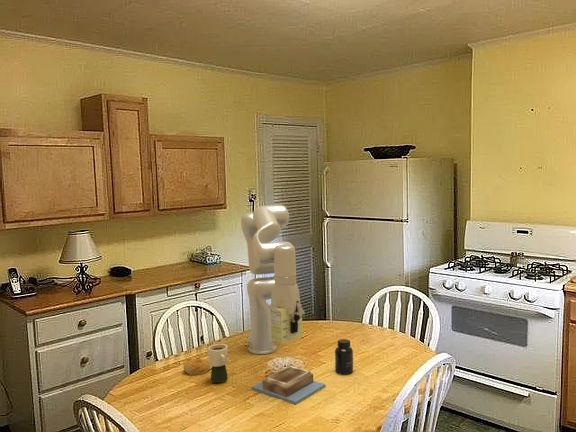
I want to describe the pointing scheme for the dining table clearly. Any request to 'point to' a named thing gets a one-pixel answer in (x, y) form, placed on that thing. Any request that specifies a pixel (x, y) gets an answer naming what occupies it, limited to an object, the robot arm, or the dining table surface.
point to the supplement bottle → (344, 357)
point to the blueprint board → (295, 397)
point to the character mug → (218, 362)
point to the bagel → (196, 367)
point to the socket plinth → (288, 381)
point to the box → (283, 326)
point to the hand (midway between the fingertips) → (286, 330)
